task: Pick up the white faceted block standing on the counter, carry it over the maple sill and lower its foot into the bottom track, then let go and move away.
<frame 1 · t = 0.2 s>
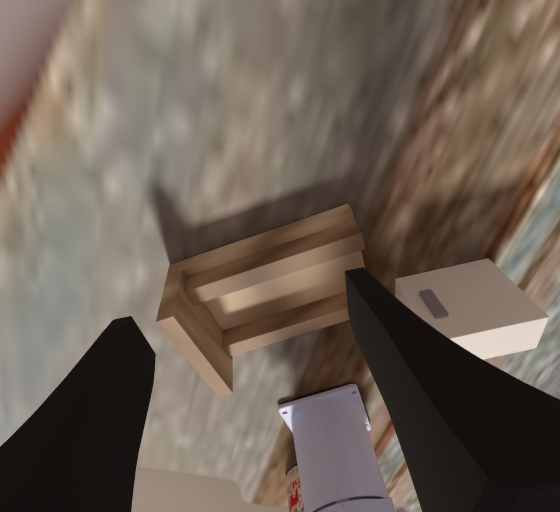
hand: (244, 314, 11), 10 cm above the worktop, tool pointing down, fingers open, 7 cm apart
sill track: (276, 279, 24), on the worktop
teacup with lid: (314, 474, 44), on the worktop
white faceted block: (439, 282, 26), on the worktop
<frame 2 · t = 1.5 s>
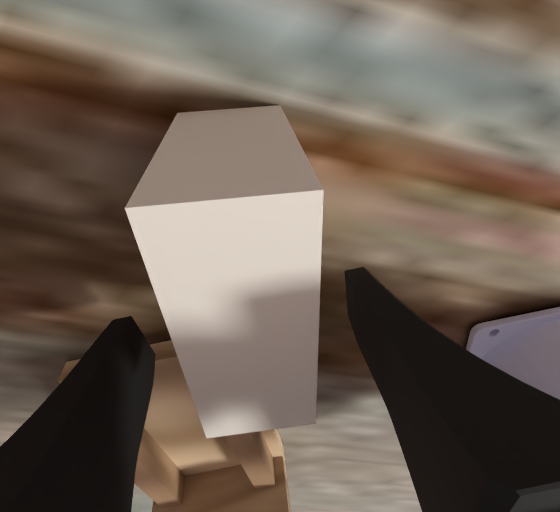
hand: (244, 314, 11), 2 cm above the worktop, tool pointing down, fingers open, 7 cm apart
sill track: (195, 412, 19), on the worktop
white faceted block: (242, 213, 12), on the worktop
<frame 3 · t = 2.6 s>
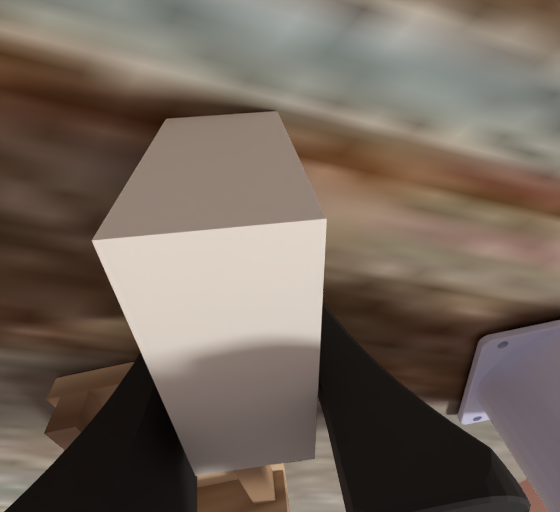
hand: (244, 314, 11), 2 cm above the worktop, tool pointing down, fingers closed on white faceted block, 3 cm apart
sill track: (192, 426, 18), on the worktop
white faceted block: (236, 225, 11), on the worktop, touching gripper
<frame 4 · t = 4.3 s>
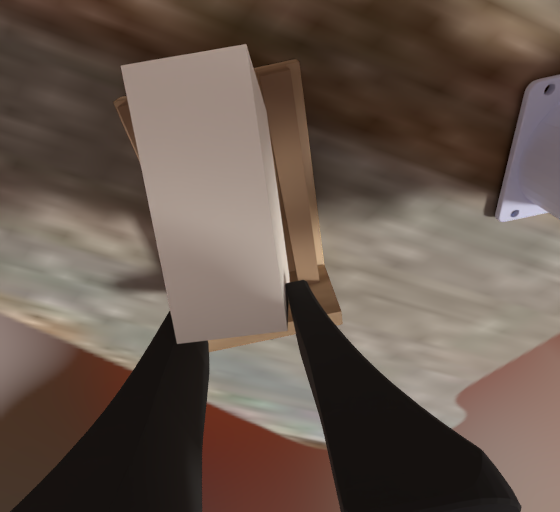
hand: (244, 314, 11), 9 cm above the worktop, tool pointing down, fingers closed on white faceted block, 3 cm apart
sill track: (240, 198, 18), on the worktop
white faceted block: (243, 202, 14), point 4 cm above the worktop, tilted 27°, touching gripper, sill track
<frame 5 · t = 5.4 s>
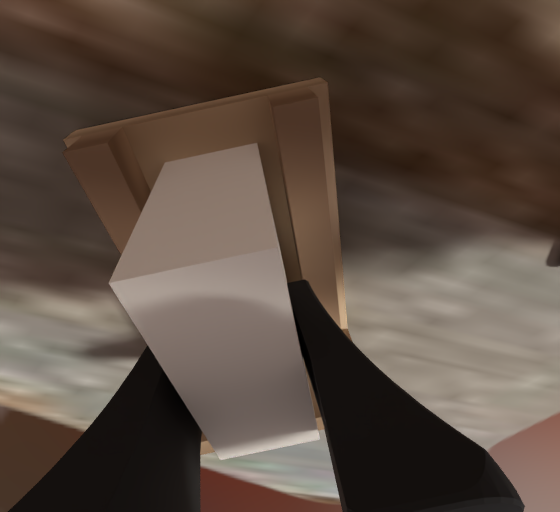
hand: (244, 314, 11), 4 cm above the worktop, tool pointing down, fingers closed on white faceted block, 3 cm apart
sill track: (242, 252, 14), on the worktop
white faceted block: (238, 242, 13), point 1 cm above the worktop, touching gripper, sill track
when the fingers open (4 cm above the worktop, at t = 5.9 s): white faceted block stays where it is, resting on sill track.
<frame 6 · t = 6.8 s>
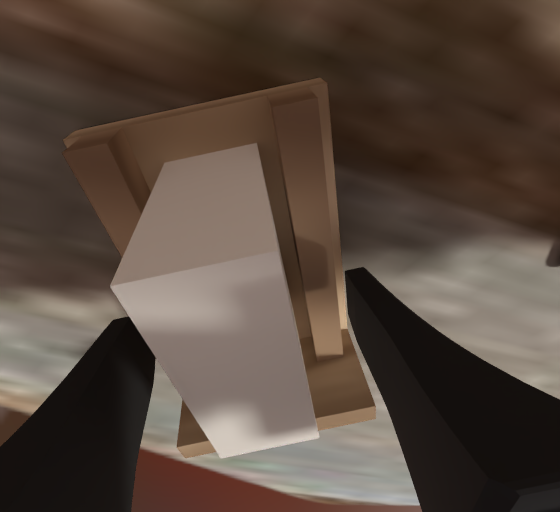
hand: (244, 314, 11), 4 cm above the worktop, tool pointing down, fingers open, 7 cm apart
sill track: (242, 253, 14), on the worktop
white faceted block: (237, 242, 13), point 1 cm above the worktop, touching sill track
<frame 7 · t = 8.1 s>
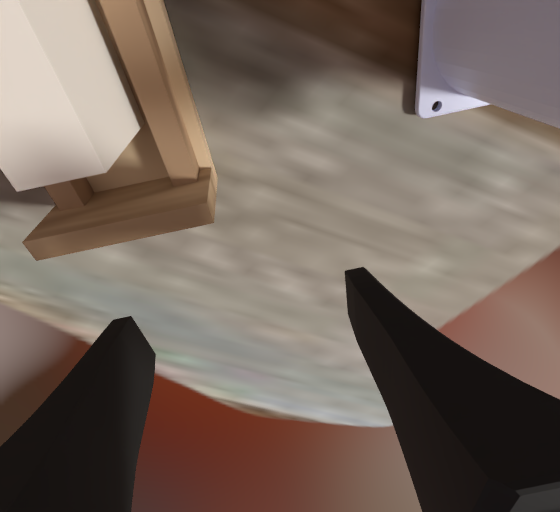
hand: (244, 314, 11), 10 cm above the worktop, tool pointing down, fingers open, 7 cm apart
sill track: (93, 73, 15), on the worktop
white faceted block: (73, 43, 14), point 1 cm above the worktop, touching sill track
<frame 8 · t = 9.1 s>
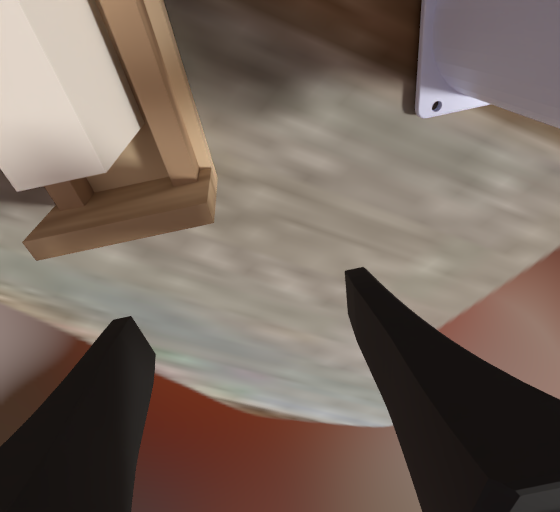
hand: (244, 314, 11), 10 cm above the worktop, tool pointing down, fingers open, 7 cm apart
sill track: (93, 73, 15), on the worktop
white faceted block: (73, 43, 14), point 1 cm above the worktop, touching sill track
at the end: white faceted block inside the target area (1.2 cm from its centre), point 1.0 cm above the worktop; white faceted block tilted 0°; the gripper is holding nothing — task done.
